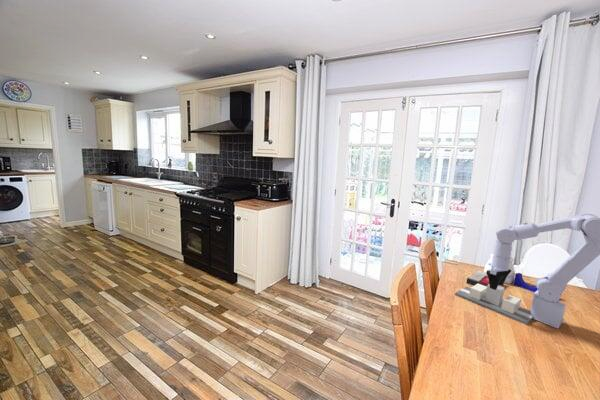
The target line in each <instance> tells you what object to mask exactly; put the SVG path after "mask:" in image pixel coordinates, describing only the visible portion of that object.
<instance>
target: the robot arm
mask: <svg viewBox="0 0 600 400" xmlns="http://www.w3.org/2000/svg"><path fill="white" fill-rule="evenodd" d="M565 229H569V230H573V231H577V232H581V233H582V235H583V238H584V240H585V242H584V243H583V244H582V245H581V246H580V247H579V248H578V249H577V250H575V251H574V253H572V254H571V255H570V256H569V257H567V259H566V260H565V261H563V262H562V263H561V264H560V265H559V266H558V267H557V268H556V269H555V270H553V272H551V273H548V274H546V275H545V276H543V277H539V278H537V279H536V281H535V286H536V287H537V289H538V290H537V291H536V292H533V297H532V302H531V306H530V313H531V314H532V315H533V318H532V320H535V321H538V322H541V323H542V324H545V325H548V326H550V327H552V328H555V329H559V328H560V326H561V325H562V323H564V316H565V312H566V306H567V305H566V303H564V302H561V301H560V299H561V298H562V294H563V292H564V291H565V290H566V287H567V285H568V283H569V282H570V281H571V280H573V279H574V278H575V277H577V276H578V274H580V273H581V271H584V270H585V268H587V267H588V266H589V265H590V264H591V263H592V262H593V261H594V260H595V259H597V258H598V257H599V256H600V217H598V216H597V215H595V214H592V213H584V214H577V215H571V216H566V217H562V218H557V219H555V220H554V219H553V220H551V221H545V222H542V223H537V224H535V223H533V222H527V221H523V222H522V224H518V225H514V226H513V225H508V227H506V226H504V227H503V226H502V227H500V228H499V229H498V230H497V231H496V232H495V235H496V239H495V244H494V248H493V253H492V254H493V259H492V263H488V265H490V266H491V270H490V271H489V270H488V271H487V272H486V274H487V276H488V278H489V285H490V288H491V289H494V290H496V289H497V287H498V284H499V286H503V285H504V284H505V283H504V282H505V279H506V277H507V276H508V274H509V273H510V272H511V270H510V269H509V262H510V256H512V250H513V242H515V241H521V240H525V239H531V238H536V237H538V235H539V234H540V233H547V232H551V231H553V232H554V231H559V230H560V231H561V230H565Z"/></svg>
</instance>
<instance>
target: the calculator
mask: <svg viewBox="0 0 600 400" xmlns="http://www.w3.org/2000/svg"><path fill="white" fill-rule="evenodd" d="M466 284H468V285H470V286H472V287H473V286H474V285H476V284H481V285H484V286H486V287H487V285H489V278H488V276H487V274H486V272H484V270H479V269H478V270H476V271H474V272H473V273H472V274H471V275H469V276H468V277H467V278H466ZM498 285H499V284H498ZM499 286H500V285H499Z"/></svg>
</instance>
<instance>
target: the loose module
mask: <svg viewBox="0 0 600 400" xmlns="http://www.w3.org/2000/svg"><path fill="white" fill-rule="evenodd" d="M504 295H505V287H503V286H502V285H498V287H497V289H496V290H494V289H491V288H490V285H487V289H486V295H485V301H487V302H489V303H492V304H494V305H497V306H499V305H500V304H501V303H502V300H504Z"/></svg>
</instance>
